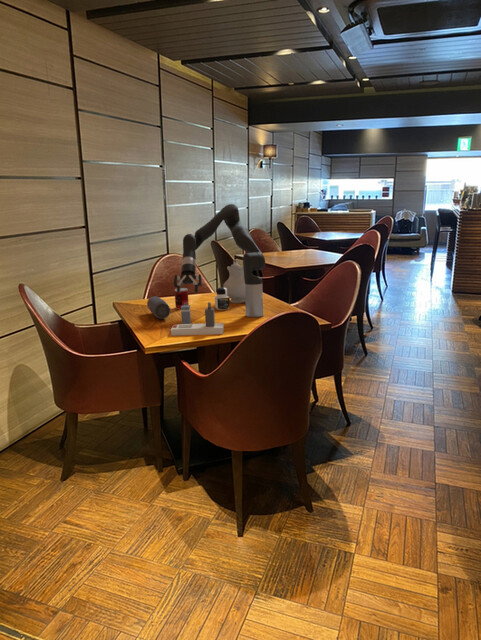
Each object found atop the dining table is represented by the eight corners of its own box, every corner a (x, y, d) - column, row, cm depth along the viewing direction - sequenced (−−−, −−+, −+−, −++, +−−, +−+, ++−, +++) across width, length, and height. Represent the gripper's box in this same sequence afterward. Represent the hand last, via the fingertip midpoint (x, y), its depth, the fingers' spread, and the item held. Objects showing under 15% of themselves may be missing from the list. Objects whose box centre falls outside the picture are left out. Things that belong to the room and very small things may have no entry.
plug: (191, 324, 242) (190, 305, 240) (190, 326, 238) (189, 307, 236) (183, 325, 243) (181, 305, 240) (182, 327, 239) (180, 307, 236)
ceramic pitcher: (218, 301, 304) (214, 262, 297) (246, 295, 311) (242, 257, 304) (232, 307, 284) (228, 265, 278) (262, 301, 292) (258, 260, 285)
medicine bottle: (217, 310, 273) (216, 289, 270) (215, 308, 280) (214, 287, 277) (230, 309, 275) (229, 288, 272) (227, 306, 281) (226, 286, 278)
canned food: (189, 306, 287) (188, 287, 285) (188, 308, 280) (187, 290, 277) (176, 306, 287) (175, 288, 285) (175, 309, 279) (173, 290, 277)
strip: (223, 329, 232) (222, 300, 228) (223, 333, 223) (221, 304, 220) (174, 330, 232) (172, 302, 229) (171, 335, 224) (169, 306, 220)
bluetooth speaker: (146, 313, 272) (145, 296, 270) (163, 311, 275) (161, 294, 273) (154, 322, 251) (152, 303, 249) (171, 320, 254) (170, 301, 252)
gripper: (202, 271, 260) (201, 296, 251) (176, 272, 260) (174, 297, 252) (201, 262, 253) (200, 287, 245) (174, 263, 253) (172, 288, 245)
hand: (187, 292), depth 248 cm, fingers open, 8 cm apart
